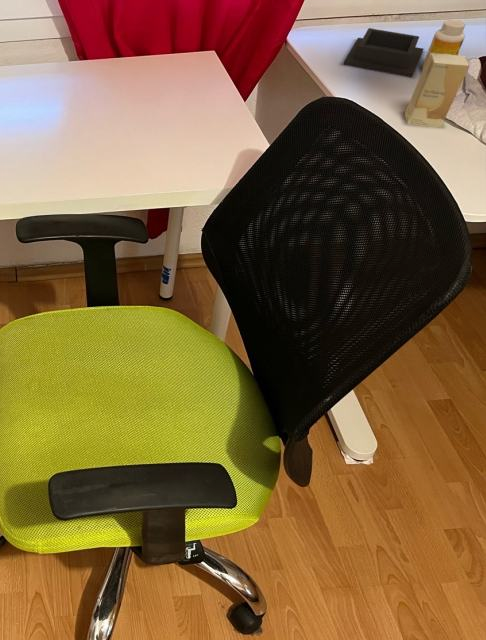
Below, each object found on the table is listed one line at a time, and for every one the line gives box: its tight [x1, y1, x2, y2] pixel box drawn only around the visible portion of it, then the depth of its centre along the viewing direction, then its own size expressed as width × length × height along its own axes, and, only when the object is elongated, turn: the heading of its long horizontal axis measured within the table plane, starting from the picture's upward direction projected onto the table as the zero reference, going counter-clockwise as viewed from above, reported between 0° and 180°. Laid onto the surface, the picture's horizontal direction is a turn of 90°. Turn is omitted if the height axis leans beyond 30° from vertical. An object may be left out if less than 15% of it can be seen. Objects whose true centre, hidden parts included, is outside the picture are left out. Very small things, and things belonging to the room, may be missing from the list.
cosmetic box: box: [404, 53, 471, 128], centre depth 127 cm, size 6×4×12 cm
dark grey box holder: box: [343, 27, 425, 78], centre depth 149 cm, size 14×14×4 cm
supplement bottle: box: [421, 18, 466, 72], centre depth 142 cm, size 6×6×10 cm
